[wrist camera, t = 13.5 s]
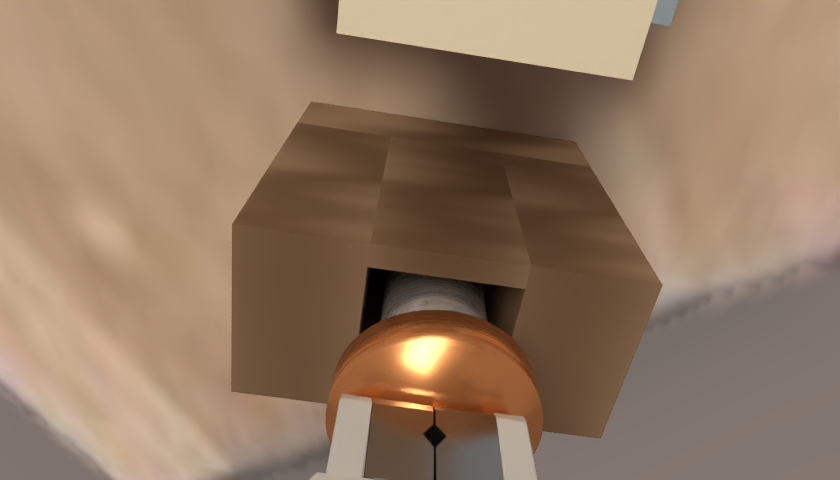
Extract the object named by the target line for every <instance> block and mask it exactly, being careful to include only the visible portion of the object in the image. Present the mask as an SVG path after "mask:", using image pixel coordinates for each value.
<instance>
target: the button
mask: <svg viewBox="0 0 840 480" xmlns="http://www.w3.org/2000/svg"><path fill="white" fill-rule="evenodd" d="M342 394H349V395H355V396H362V397H368V398H372V401H373V398H380V399H386V400H393V401H400V402H407V403H413V404H420V405H427V406H432V407H434V406H435V407H444V408H453V409H461V410H470V411H478V412H487V413H492V414H493V413H499V414H508V415H517V416H523V417H524V418H525V419H526V421H527V425H528V431H529V436H530V441H531V446H532V451H533V454H534V452H535V451H536V449H537V446H538V444H539V442H540V439H541V435H542V431H543V412H542V406H541V401H540V397H539V392H538V387H537V383H536V378H535V374H534V371H533V367H532V365H531V363H530V361H529V359H528V357H527V355H526V353H525V352H524V351H523V349H522V348H521V346H520V345H519V344H518V343H517V342H516V341H515V340H514V339H513V338H512V337H511V336H509V335H508V334H507V333H506V332H504V331H503V330H502V329H500V328H498V327H497V326H495V325H493V324H492V323H490V322H487V315H486V307H485V300H484V292H483V284H482V283H478V282H471V281H464V280H456V279H449V278H442V277H435V276H428V275H421V274H413V273H406V272H399V271H392V270H387V277H386V285H385V292H384V300H383V308H382V315H381V321H380V322H378V323H376V324H374V325H372V326H371V327H369V328H368V329H366V330H365V331H363V332H362V333H360V334H359V335H358V336H357V337H356V338H355V339H354V340H353V341H352V342H351V343H350V344H349V345H348V347H347V348H346V349H345V350H344V352H343V354H342V355H341V357H340V359H339V361H338V363H337V366H336V369H335V372H334V377H333V381H332V386H331V391H330V395H329V400H328V405H327V410H326V429H327V435H328V438H329V441H330V443H331V444H332V438H333V433H334V427H335V422H336V417H337V411H338V406H339V401H340V398H341V395H342Z"/></svg>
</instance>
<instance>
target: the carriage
mask: <svg viewBox="0 0 840 480" xmlns="http://www.w3.org/2000/svg"><path fill="white" fill-rule="evenodd" d="M678 1H679V0H339V8H338V21H337V33H338V34H344V35H351V36H357V37H363V38H370V39H376V40H382V41H388V42H395V43H401V44H407V45H413V46H420V47H426V48H432V49H439V50H445V51H451V52H457V53H464V54H470V55H476V56H482V57H489V58H495V59H501V60H507V61H514V62H520V63H526V64H533V65H539V66H545V67H551V68H558V69H564V70H570V71H576V72H583V73H589V74H595V75H602V76H608V77H614V78H620V79H627V80H633V77H634V74H635V71H636V68H637V65H638V62H639V58H640V55H641V52H642V49H643V46H644V43H645V39H646V36H647V33H648V30H649V27H650V24H651V23H653V24H659V25H665V26H670V25H671V22H672V19H673V16H674V13H675V10H676V7H677V4H678Z"/></svg>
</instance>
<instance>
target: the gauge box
mask: <svg viewBox="0 0 840 480" xmlns="http://www.w3.org/2000/svg"><path fill="white" fill-rule="evenodd" d="M387 270H392V271H399V272H406V273H413V274H421V275H428V276H435V277H442V278H449V279H456V280H464V281H471V282H478V283H482V284H483V292H484V300H485V307H486V315H487V322H490V323H492V324H493V325H495V326H497V327H498V328H500V329H502V330H503V331H504V332H506V333H507V334H508V335H509V336H511V337H512V338H513V339H514V340H515V341H516V342H517V343H518V344H519V345H520V346H521V348H522V349H523V351H524V352H525V353H526V355H527V357H528V359H529V361H530V363H531V365H532V367H533V371H534V374H535V378H536V383H537V387H538V392H539V397H540V401H541V406H542V412H543V431H547V432H555V433H564V434H571V435H578V436H587V437H594V438H601V436H602V434H603V431H604V428H605V426H606V424H607V421H608V419H609V416H610V414H611V411H612V409H613V406H614V404H615V402H616V399H617V397H618V394H619V392H620V389H621V387H622V384H623V382H624V379H625V377H626V374H627V372H628V369H629V366H630V364H631V362H632V359H633V357H634V354H635V352H636V349H637V347H638V345H639V342H640V340H641V337H642V335H643V332H644V330H645V327H646V325H647V322H648V320H649V317H650V315H651V312H652V310H653V307H654V305H655V302H656V300H657V297H658V295H659V292H660V290H661V288H662V283H661V282H660V280H659V279H658V277H657V275H656V274H655V272H654V270H653V269H652V267H651V265H650V264H649V262H648V261H647V259H646V257H645V256H644V254H643V252H642V251H641V249H640V248H639V246H638V244H637V243H636V241H635V239H634V238H633V236H632V234H631V233H630V231H629V230H628V228H627V226H626V225H625V223H624V221H623V220H622V218H621V216H620V215H619V213H618V212H617V210H616V208H615V207H614V205H613V203H612V202H611V200H610V198H609V197H608V195H607V194H606V192H605V190H604V189H603V187H602V185H601V184H600V182H599V180H598V179H597V177H596V176H595V174H594V172H593V171H592V169H591V167H590V166H589V164H588V162H587V161H586V159H585V158H584V156H583V154H582V153H581V151H580V149H579V148H578V146H577V144H576V143H575V142H570V141H563V140H557V139H550V138H544V137H537V136H531V135H524V134H518V133H511V132H505V131H498V130H492V129H485V128H478V127H472V126H465V125H459V124H452V123H446V122H439V121H433V120H426V119H420V118H413V117H407V116H400V115H394V114H387V113H380V112H374V111H367V110H361V109H354V108H348V107H341V106H335V105H328V104H322V103H315V102H311V103H310V104H309V106H308V107H307V109H306V110H305V112H304V113H303V115H302V117H301V118H300V120H299V121H298V123H297V124H296V126H295V127H294V129H293V131H292V132H291V134H290V135H289V137H288V138H287V140H286V141H285V143H284V145H283V146H282V148H281V149H280V151H279V152H278V154H277V155H276V157H275V159H274V160H273V162H272V163H271V165H270V166H269V168H268V169H267V171H266V172H265V174H264V176H263V177H262V179H261V180H260V182H259V183H258V185H257V186H256V188H255V190H254V191H253V193H252V194H251V196H250V197H249V199H248V200H247V202H246V204H245V205H244V207H243V208H242V210H241V211H240V213H239V214H238V216H237V218H236V219H235V221H234V222H233V224H232V371H231V392H239V393H247V394H255V395H263V396H271V397H279V398H287V399H295V400H302V401H310V402H318V403H326V404H328V400H329V395H330V391H331V386H332V381H333V377H334V372H335V369H336V366H337V363H338V361H339V359H340V357H341V355H342V354H343V352H344V350H345V349H346V348H347V347H348V345H349V344H350V343H351V342H352V341H353V340H354V339H355V338H356V337H357V336H358V335H359V334H360V333H362V332H363V331H365V330H366V329H368V328H369V327H371V326H372V325H374V324H376V323H378V322H380V321H381V315H382V308H383V300H384V292H385V285H386V277H387Z"/></svg>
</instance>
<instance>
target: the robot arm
mask: <svg viewBox="0 0 840 480" xmlns="http://www.w3.org/2000/svg"><path fill="white" fill-rule="evenodd" d="M309 480H538V476H537V471H536V466H535V461H534V457H533V451H532V446H531V441H530V436H529V431H528V425H527V421H526V419H525V418H524V417H523V416H517V415H508V414H499V413H493V414H492V413H487V412H478V411H470V410H461V409H453V408H444V407H435V406H434V407H432V406H427V405H420V404H413V403H407V402H400V401H393V400H386V399H380V398H373V401H372V398H368V397H362V396H355V395H349V394H342V395H341V398H340V401H339V406H338V411H337V417H336V422H335V427H334V433H333V438H332V444H331V449H330V454H329V460H328V465H327V470H326V473H317V472H316V473H315V474H314V475H313V476H312V477H311V478H310V479H309Z"/></svg>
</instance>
